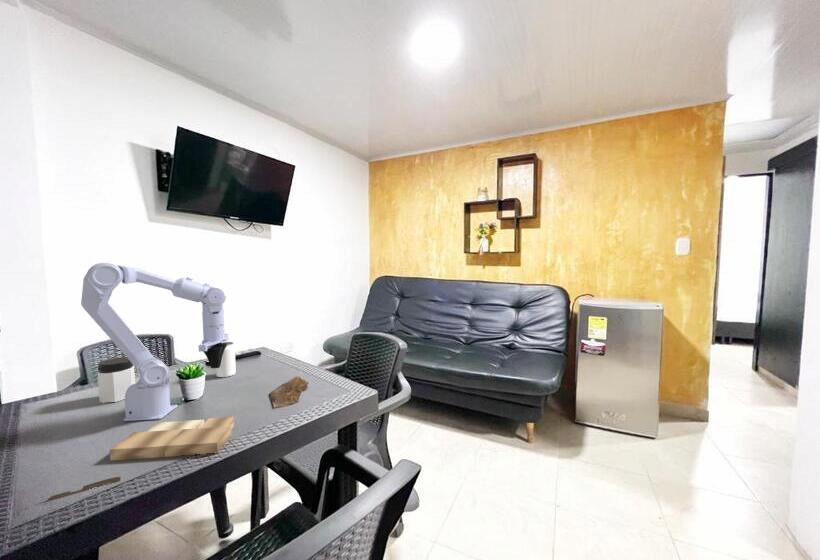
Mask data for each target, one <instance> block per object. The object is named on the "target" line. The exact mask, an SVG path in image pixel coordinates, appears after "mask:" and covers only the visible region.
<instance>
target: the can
mask: <svg viewBox="0 0 820 560" xmlns="http://www.w3.org/2000/svg"><path fill="white" fill-rule="evenodd" d="M222 343H226V344H227V346H226V348H225V350H224V352H223V356H222V360H221V365H220V367H219V368H215V376H216V377H217V378H218V377H226V378H230V377H232V375H233V376H235V374H236V370H237V369H236V348H235V347H236V346H235V345H234V342H231V341H225V342H222ZM229 376H230V377H229Z"/></svg>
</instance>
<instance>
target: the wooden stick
mask: <svg viewBox="0 0 820 560" xmlns="http://www.w3.org/2000/svg"><path fill="white" fill-rule="evenodd" d="M121 479H122V478H121V476H115V477H110V478H107V479H103V480H99V481H96V482H92V483H89V484H86V485H84V486H83V487H82V489H79V490H75V491H71V490H69V491H66V492H61V493H58V494H55V495H51V496H50V497H49V498H47V500H45V501H42V502H39V503H37V504H34V506H38V505H41V504H44V503H47V502H52V501H55V500H59V499H62V498H66V497H69V496H72V495H75V494H78V493H82V492H86V491H90V490H89V489H91V490H93V489H92V488H94V487H97V488H101V487H104V486H103V485H105V486H108V485H113V484H115V483H119V482H121ZM100 486H101V487H100ZM94 489H95V488H94Z"/></svg>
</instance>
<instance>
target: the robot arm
mask: <svg viewBox="0 0 820 560" xmlns="http://www.w3.org/2000/svg"><path fill="white" fill-rule="evenodd" d="M82 281H83V283H82V290H81V301H80V303H81V304H80V305H81V307H82V308H83V309H84V311H85V312H86V313H87V314H88V315H89V316H90V318H91V319H93V321H94V322H95V323H96V324H97V325H98V326H99V328H100V329H101V330H102V331H103V332H104V334H105V335H106V336H108V338H109V339H110V340H111V341H112V342H113V343H114V345H115V346H116V347H117V348H118V349H119V350H120V351H121V353H123V354H124V357H127V358H128V359H129V360H130V361H131V363H132V364H133V365H134V369H135V373H136V374H137V375H138V376H139V379H138V381H137V382H135V384H133V385H131V386H130V387H129V388H128V389H127V391H126V393H125V400H124V406H125V407H124V408H125V412H124V413H125V418H124V419H123V421H124V422H130V421H131V422H133V421H148V420H150V421H151V420H161V419H163V418H164V417H165V416H167V415H168V414H169V413H170V412H172V411H174V410H175V409H176V408H178V407H179V405H178V404H171V393H170V392H171V390H170V377H169V375H170V368H169V366H167V365H166V364H165V363H164V361H163V359H162V358H160V357H159V356H155V355H153V354H152V353H151V351H150V350H149V349H148V348H147V347H146V346H145V345H144V344H143V343H142V341H141V340H140V339H139V338H138V337H137V335H136V334H135V333H134V332H133V330H131V328H130V326H128V325H127V323H126V322H125V321H124V320H123V318H121V316H120V315H119V314H118V313H117V312H116V310H115V309H114V308H113V306H112V305H111V304H110V303H109V301H110V299H111V296H112V294H113V291H114V290H115V289H116V288H117V287H118V286H119V284H121V283H123V284H125V285H126V284H134V283H140V284H144V285H149V286H153V287H155V288H156V287H157V288H161V289H164V290H169V291H170V292H171V293H172V295H173V296H174V297H177V298H179V299H182V300H183V299H184V300H188V301H191V302H196V303H201V304H202V305H201V306H202V312H201V314H202V315H201V316H202V332H203V333H202V335H203V339H202V340H201V342H200V344H199V345H198V352H199V353H201V352H202V353H204V355H205V356H206V358H207V360H208V363H209V366H210V369H216V368H219V367H220V365H221V360H222V356H223V352H224V350H225V348H226V346H227V344H226V343H223V342H229V339H230V338H229V334H228V333H225V315H224V303H225V302H226V300H227V299H226V298H227V296H226V294H225V293H224V291H223V290H222V289H220V288H218V287H213V286H211V285H210V284H208V283H200V282H197V281H194V280H193V278H191V277H186V278H185V277H180V278H178V279H176V280H174V279H172V278H168V277H165V276H162V275H159V274H157V273H156V274H155V273H153V272H150V271H146V270H143V269H141V268H140V269H139V268H136V267H131V266H130V267H129V266H124V265H116V264H113V263H110V262H100V263H96V264H94V265H92V266H91V267H90V268H89V269H88V271H87V272H86V273H85V275H84V277H83V279H82Z"/></svg>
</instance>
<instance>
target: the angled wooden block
mask: <svg viewBox="0 0 820 560" xmlns="http://www.w3.org/2000/svg"><path fill="white" fill-rule="evenodd" d="M234 420H235V419H234V416H226V417H223V416H222V417H210V418H208V419H207V420H206V421H204V424H203V425H202V426H201V427H200V428H197V429H180V430H164V431H148V430H147V432H146V431H135V432H132V433H131V434H129V435H128V436H126V437H125V438H124V439H122V440H121V441H120V442H118V443H117V444H115V446H112V447H111V448H110V449H109V457H110V462H111V461H113V462H114V461H126V460H137V459H139V460H141V459H152V458H153V459H157V458H168V457H182V456H181V455H186V456H196V455H195V454H200V455H207V454H206V453H215V452H218V451H219V450H220V449H221V447H222V446H223V445H224V444H225V443H226V444H227V443H228V441H229V440H230V439H231V438H232V429H233V428H234V427H235V421H234ZM230 437H231V438H230ZM229 438H230V439H229ZM228 439H229V440H228ZM226 444H225V445H226ZM225 445H224V446H225ZM224 446H223V447H224ZM223 447H222V448H223ZM221 450H222V449H221ZM221 450H220V451H221ZM220 451H219V452H220ZM219 452H218V453H219ZM215 454H216V453H215Z"/></svg>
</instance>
